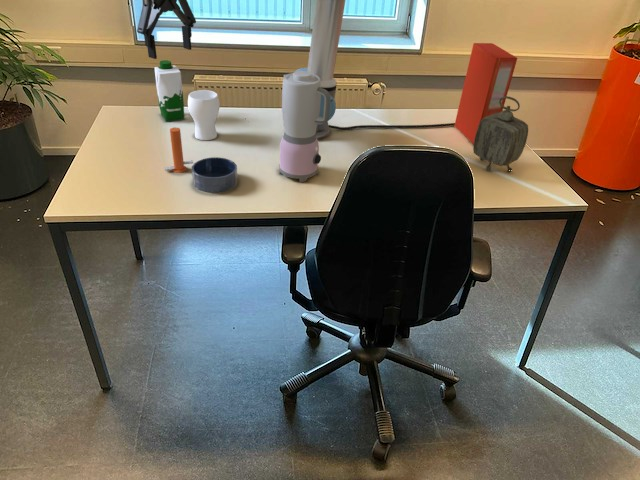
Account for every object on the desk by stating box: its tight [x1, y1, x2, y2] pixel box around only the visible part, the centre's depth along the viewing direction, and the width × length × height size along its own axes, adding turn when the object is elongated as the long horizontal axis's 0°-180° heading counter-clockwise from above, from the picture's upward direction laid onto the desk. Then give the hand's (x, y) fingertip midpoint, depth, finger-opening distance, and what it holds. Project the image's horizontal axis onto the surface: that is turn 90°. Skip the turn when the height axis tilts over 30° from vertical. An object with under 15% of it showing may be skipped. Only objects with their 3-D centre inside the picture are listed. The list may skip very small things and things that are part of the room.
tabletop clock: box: [472, 95, 529, 173], centre depth 171 cm, size 14×9×25 cm, turn 44°
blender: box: [278, 70, 330, 183], centre depth 158 cm, size 16×12×32 cm
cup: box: [187, 89, 221, 141], centre depth 182 cm, size 11×11×15 cm
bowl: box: [191, 156, 239, 194], centre depth 158 cm, size 13×13×6 cm
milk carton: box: [154, 60, 185, 122], centre depth 192 cm, size 9×9×20 cm
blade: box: [164, 126, 194, 174], centre depth 160 cm, size 9×4×14 cm, turn 113°
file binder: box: [453, 42, 518, 145], centre depth 191 cm, size 8×17×32 cm, turn 13°
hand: (170, 53), depth 158 cm, fingers open, 13 cm apart
